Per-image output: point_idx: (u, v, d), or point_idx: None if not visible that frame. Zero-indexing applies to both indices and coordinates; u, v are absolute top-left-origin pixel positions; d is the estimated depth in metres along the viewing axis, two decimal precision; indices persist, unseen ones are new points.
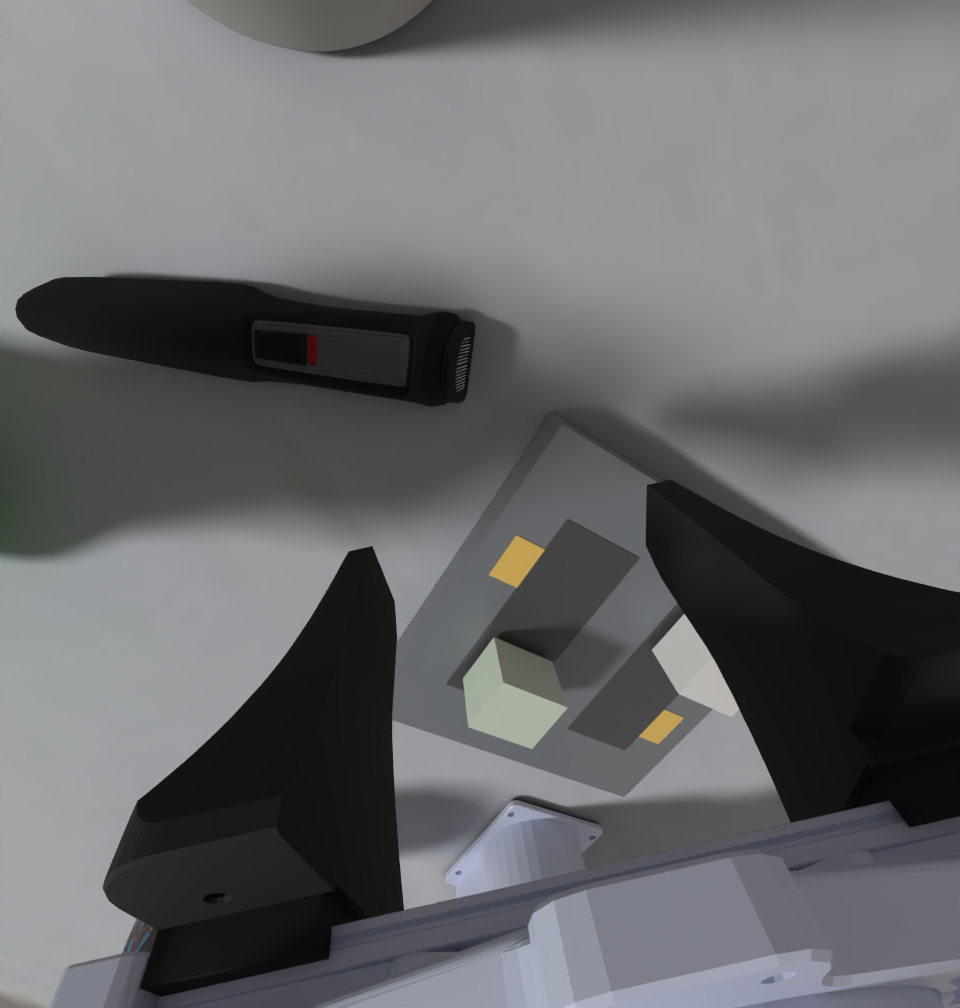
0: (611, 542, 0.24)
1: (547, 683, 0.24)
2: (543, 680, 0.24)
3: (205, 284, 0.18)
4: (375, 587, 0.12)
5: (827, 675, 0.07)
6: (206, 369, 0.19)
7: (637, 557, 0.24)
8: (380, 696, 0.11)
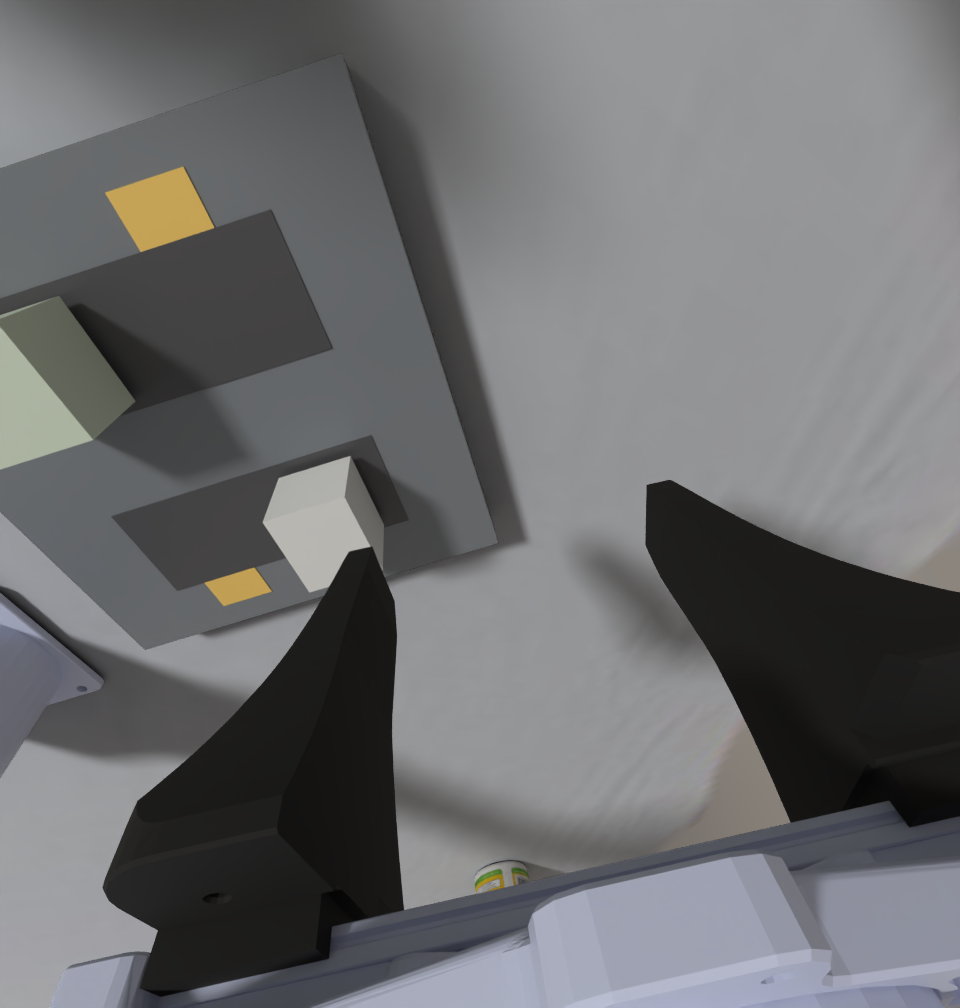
0: (310, 297, 0.17)
1: (92, 400, 0.15)
2: (89, 391, 0.15)
3: None
4: (375, 587, 0.12)
5: (827, 675, 0.07)
6: None
7: (330, 344, 0.18)
8: (380, 696, 0.11)
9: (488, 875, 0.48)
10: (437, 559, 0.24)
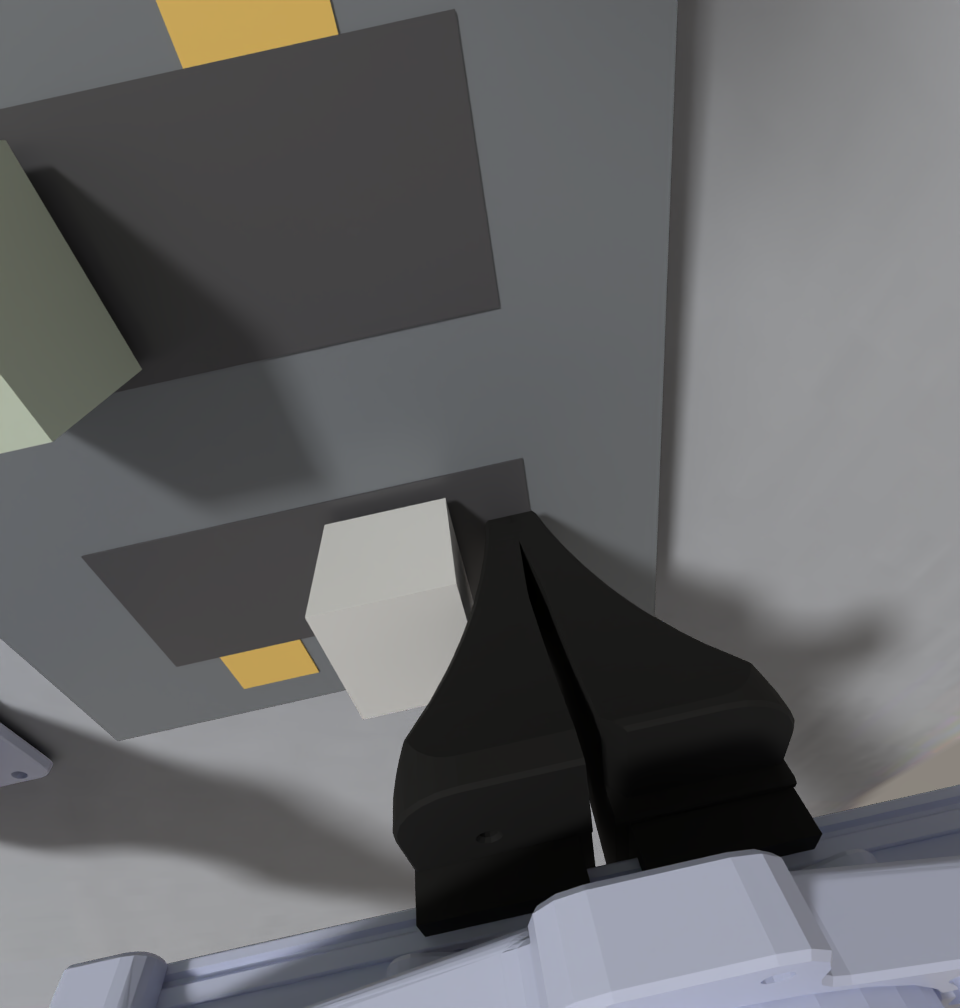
0: (484, 207, 0.09)
1: (57, 358, 0.08)
2: (52, 341, 0.07)
3: None
4: None
5: (589, 728, 0.07)
6: None
7: (498, 301, 0.10)
8: None
9: None
10: None
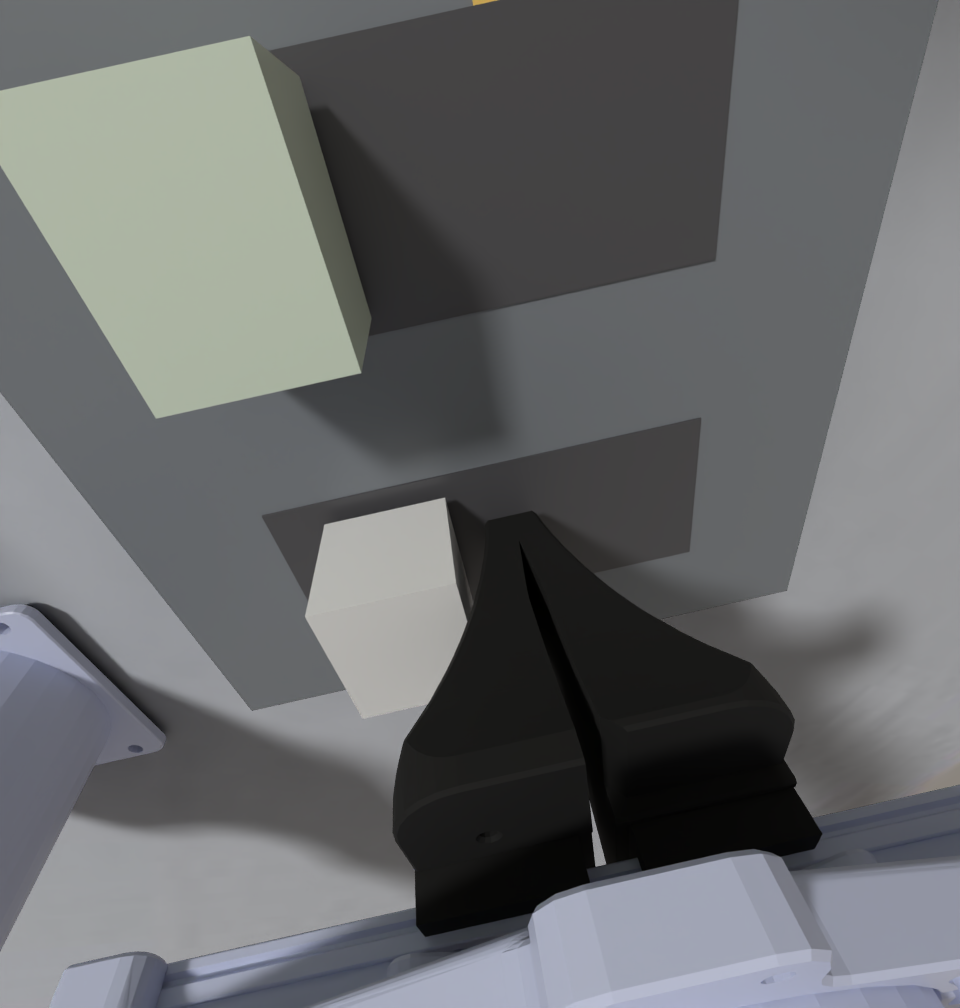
0: (723, 155, 0.09)
1: (348, 294, 0.08)
2: (344, 276, 0.08)
3: None
4: None
5: (589, 728, 0.07)
6: None
7: (715, 252, 0.10)
8: None
9: None
10: (697, 608, 0.16)
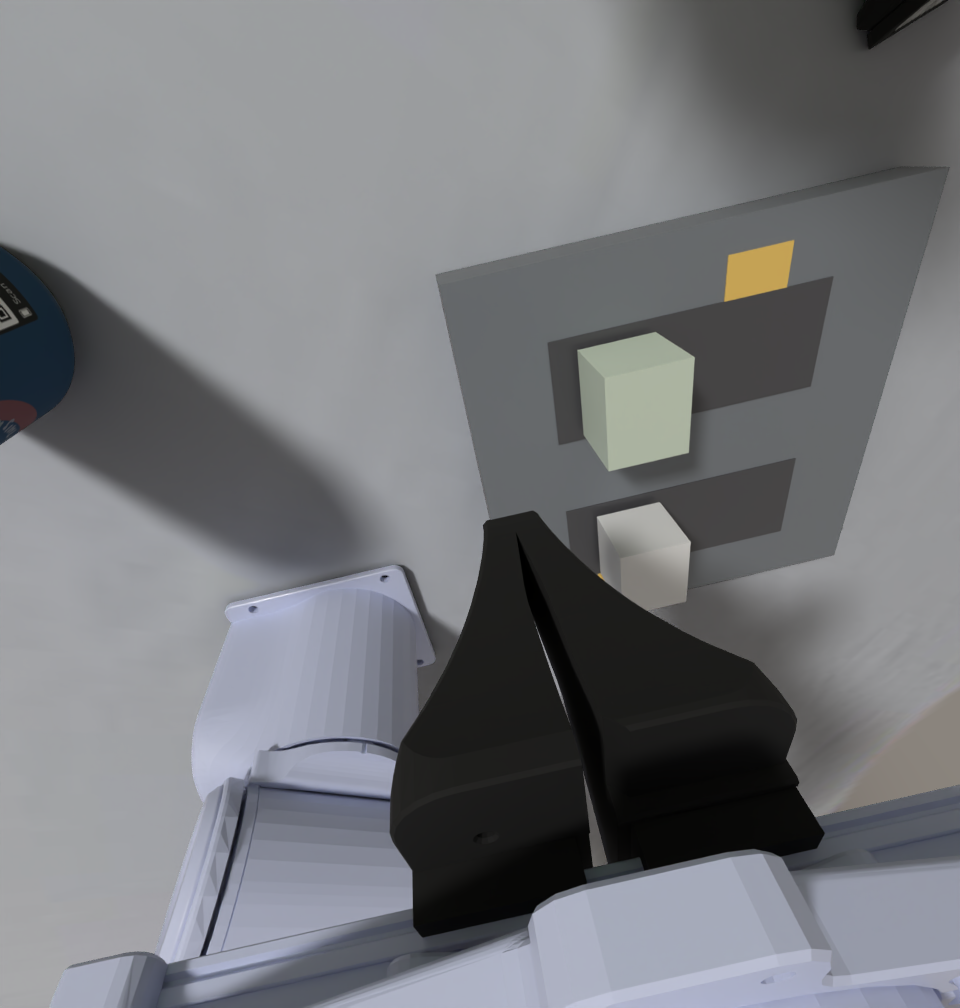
0: (818, 345, 0.20)
1: None
2: None
3: None
4: (519, 555, 0.12)
5: (592, 728, 0.07)
6: None
7: (810, 383, 0.21)
8: None
9: None
10: (781, 566, 0.27)
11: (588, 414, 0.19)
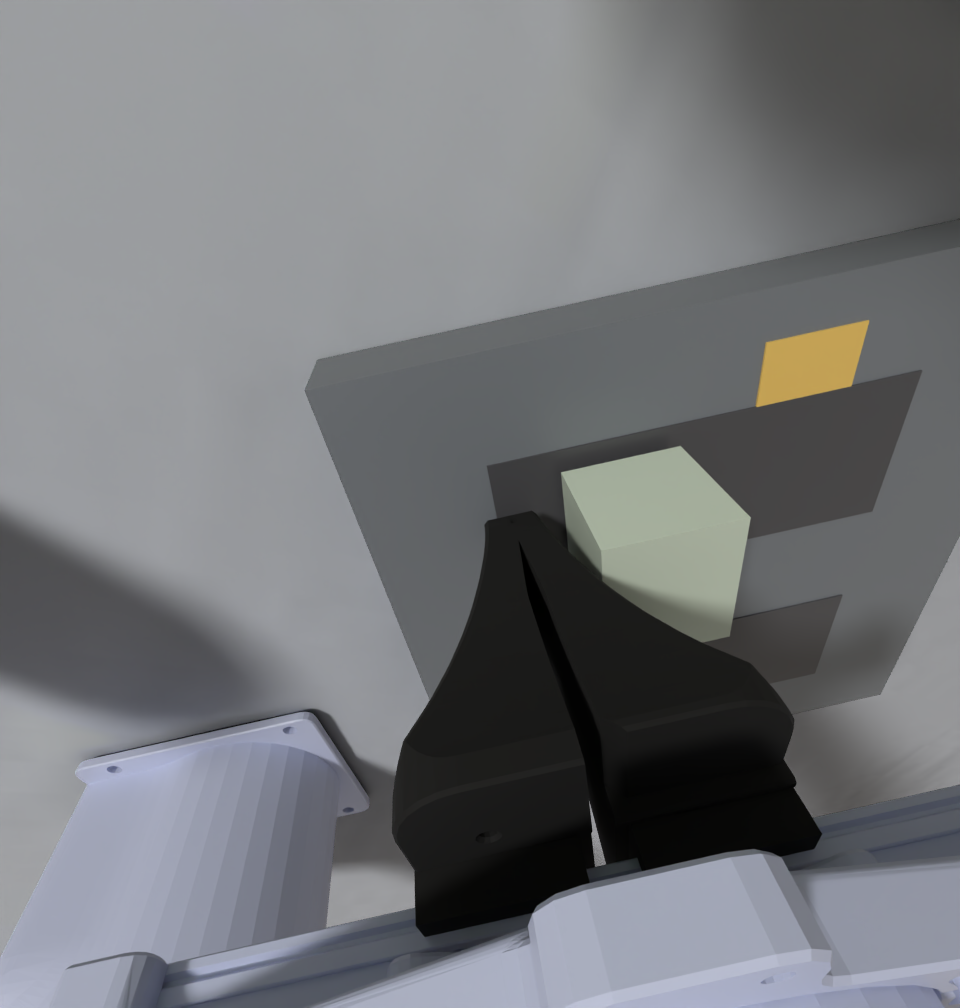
0: (888, 460, 0.14)
1: None
2: None
3: None
4: None
5: (589, 728, 0.07)
6: None
7: (872, 508, 0.15)
8: None
9: None
10: (811, 708, 0.21)
11: None
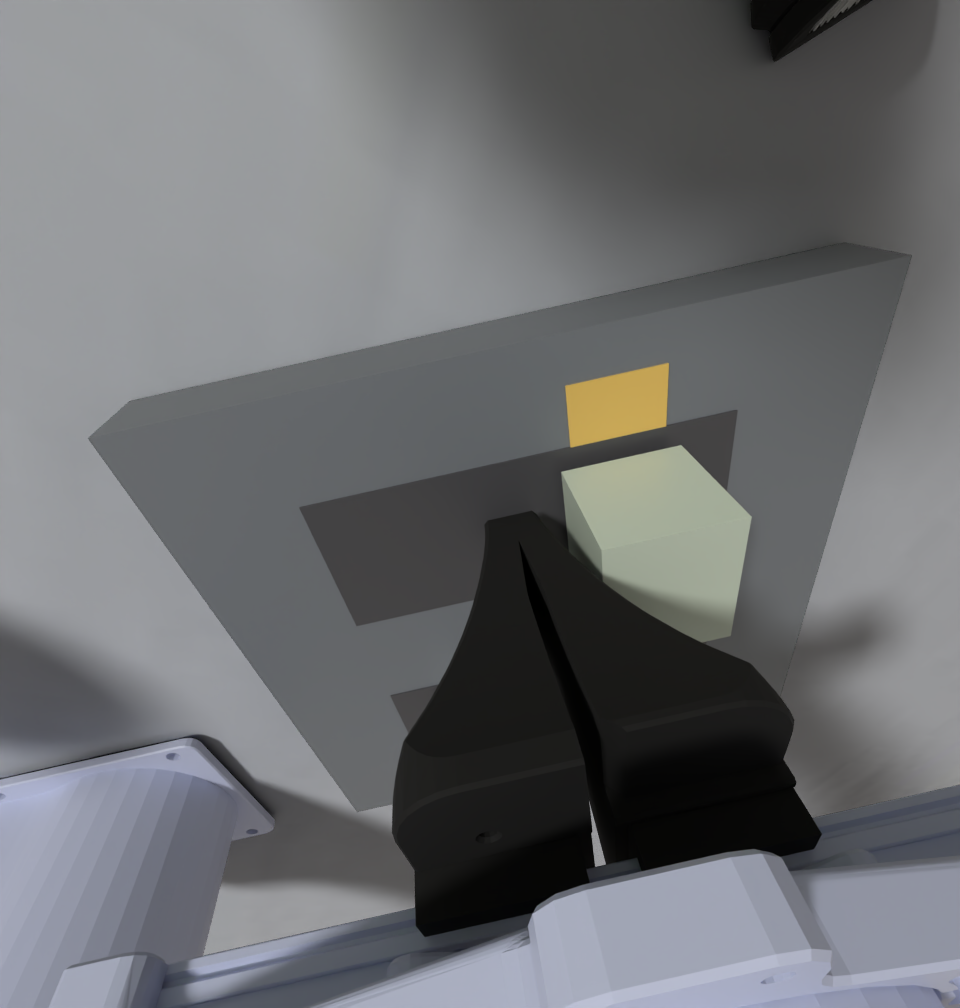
0: None
1: None
2: None
3: None
4: None
5: (589, 728, 0.07)
6: None
7: None
8: None
9: None
10: None
11: None
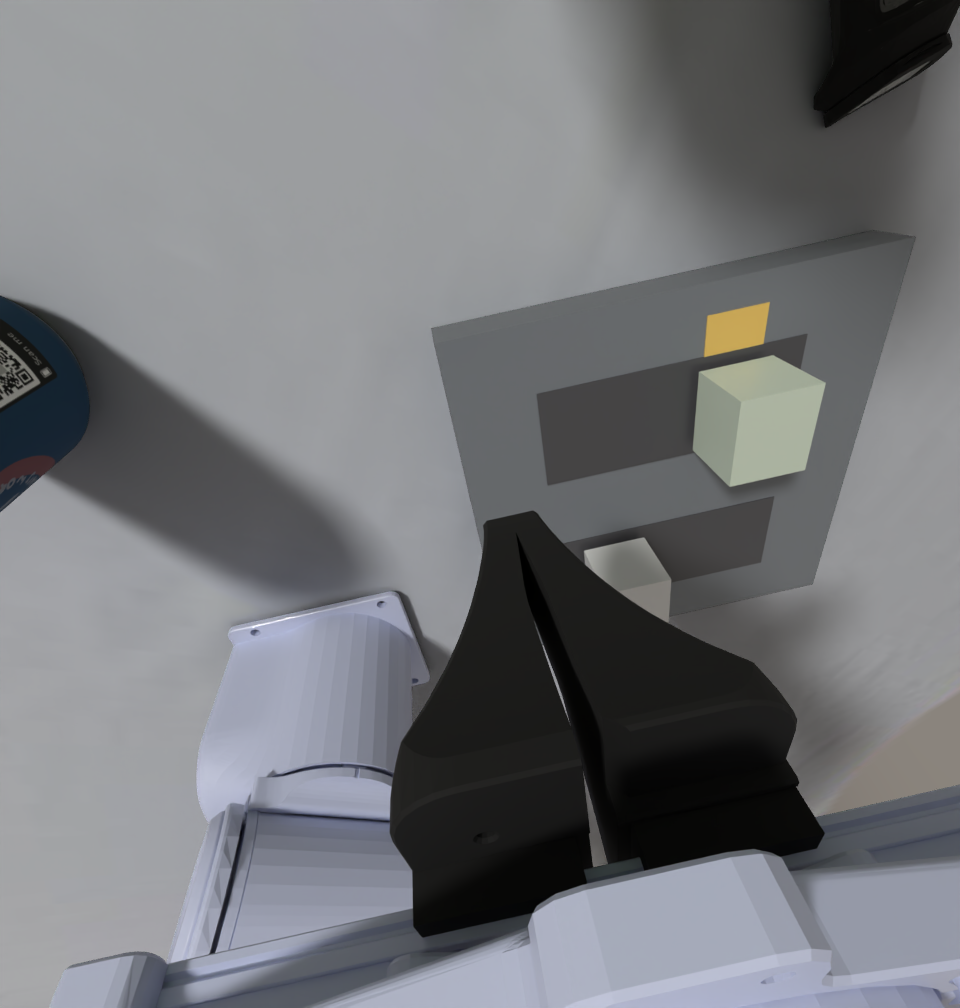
0: None
1: None
2: None
3: None
4: (519, 555, 0.12)
5: (592, 728, 0.07)
6: None
7: None
8: None
9: None
10: (761, 594, 0.29)
11: (705, 432, 0.20)
